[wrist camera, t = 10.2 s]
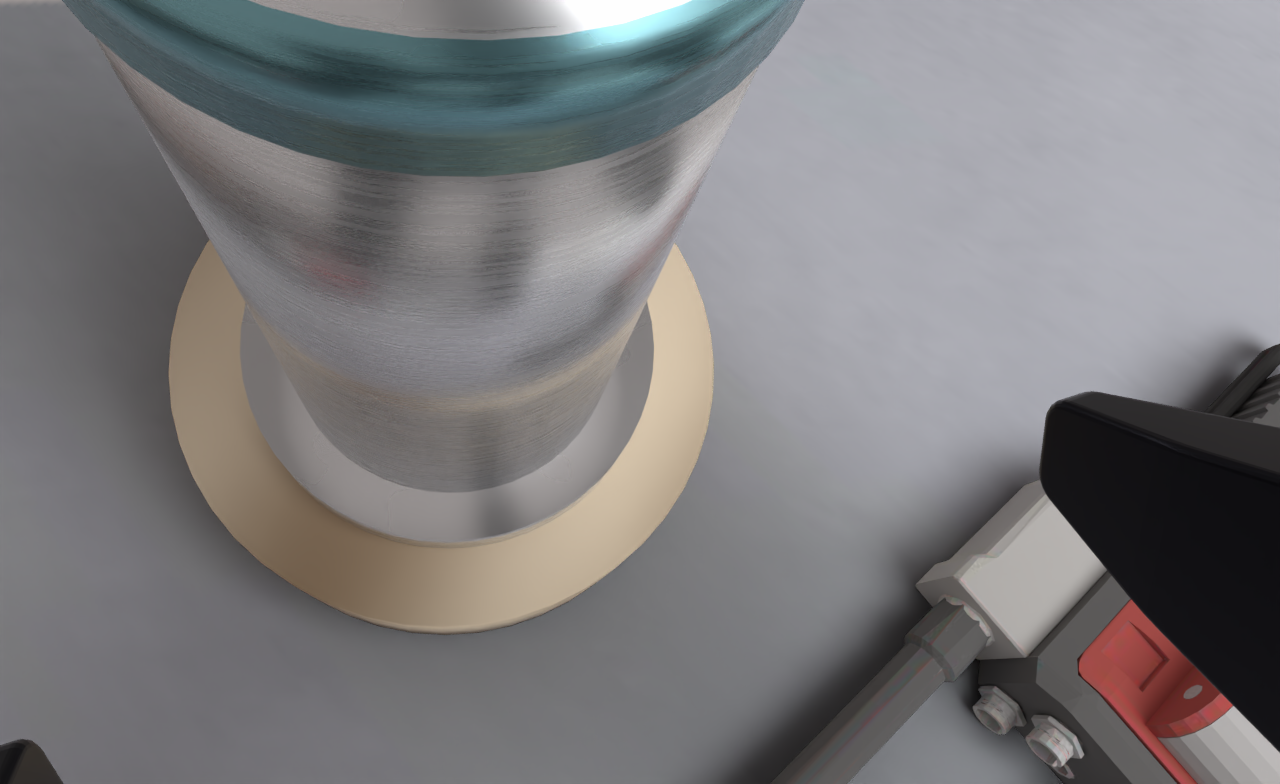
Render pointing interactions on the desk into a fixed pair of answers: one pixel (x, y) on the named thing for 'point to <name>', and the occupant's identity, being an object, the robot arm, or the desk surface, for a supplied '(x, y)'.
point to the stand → (423, 576)
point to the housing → (441, 225)
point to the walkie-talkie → (1059, 656)
